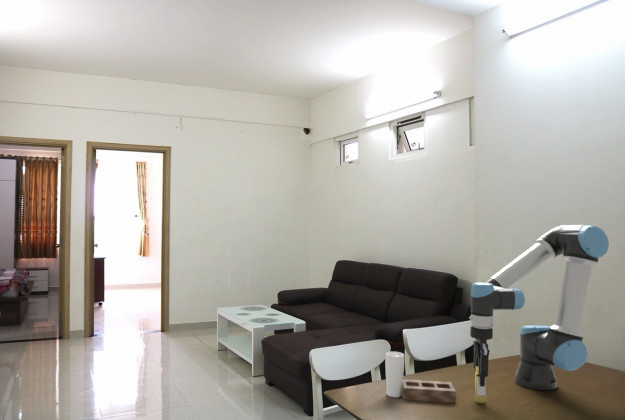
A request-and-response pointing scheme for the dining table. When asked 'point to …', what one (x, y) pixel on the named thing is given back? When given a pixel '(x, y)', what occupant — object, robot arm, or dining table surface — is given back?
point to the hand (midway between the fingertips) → (480, 392)
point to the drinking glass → (394, 373)
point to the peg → (477, 397)
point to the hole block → (428, 391)
